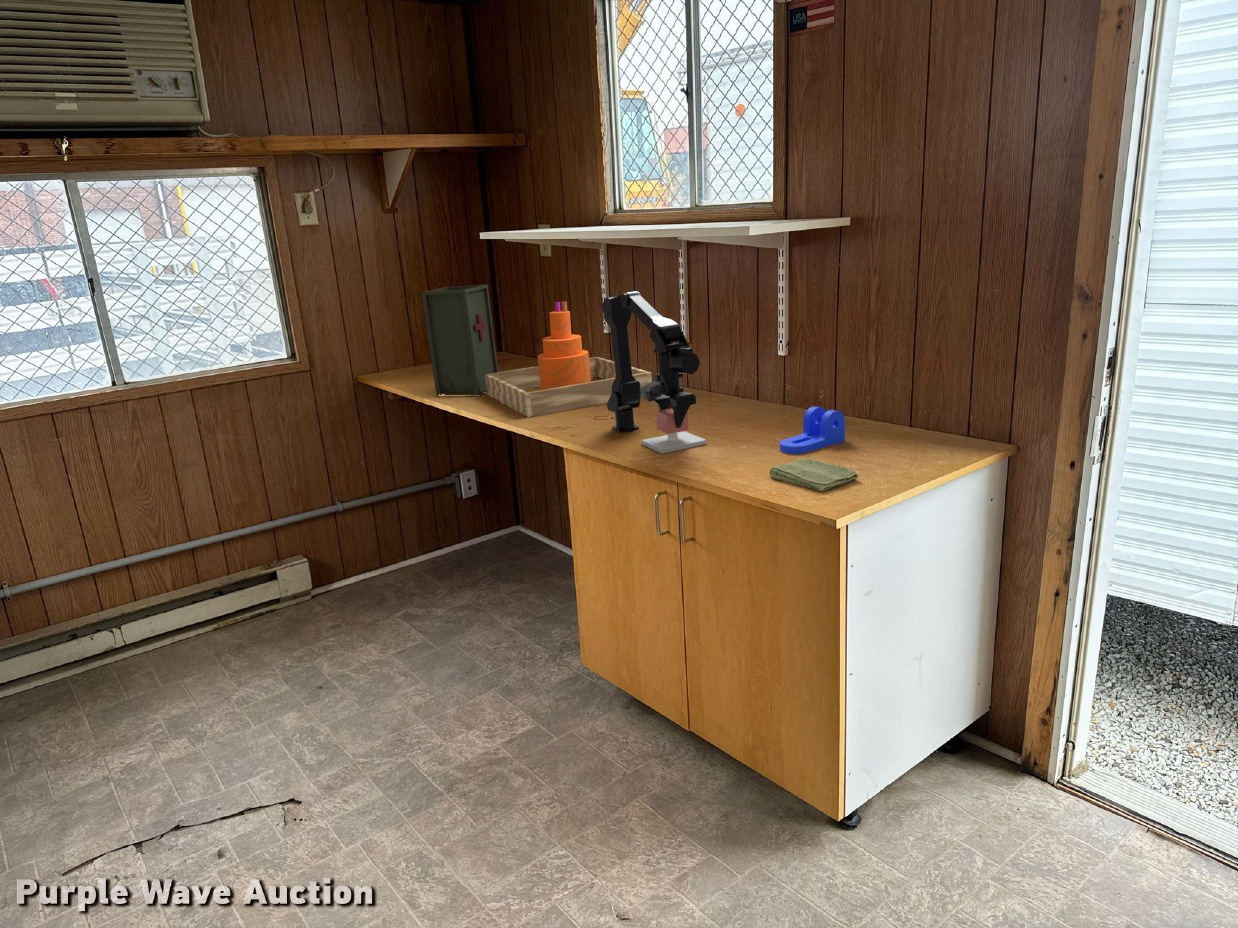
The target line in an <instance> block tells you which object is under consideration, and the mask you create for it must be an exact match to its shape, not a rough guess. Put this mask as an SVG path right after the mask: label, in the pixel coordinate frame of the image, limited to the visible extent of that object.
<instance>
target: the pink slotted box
mask: <svg viewBox="0 0 1238 928" xmlns="http://www.w3.org/2000/svg"><path fill="white" fill-rule="evenodd" d="M688 413H689V412H687V413H686V415H685V417H684V420H683V422H682V425H681V427H680V428H676V424H675V418H674V412H673V410H672V409H671V408H668V409H663V410H660V409H658V410H656V411H655V417H656V419H655V420H656V429H657V430H658V431H660V432H662V433H665V434H666V435H667V434H670V433H675V432H677V433H679V432H684V431H685V432H686V431H688V430H689V417H688V416H689V415H688Z"/></svg>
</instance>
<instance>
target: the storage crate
mask: <svg viewBox="0 0 1238 928" xmlns="http://www.w3.org/2000/svg"><path fill="white" fill-rule="evenodd" d="M589 365H590V376H591V379H593V378H592V377H596V376H598V377H599V378H598V379H599V380H594V381H591V382H587V383H581V384H576V385H570V386H564V387H558V388H552V389H546V390H541V389H540V390H535V391H530V392H527V391H526V390H530V389H535V388H534V387H538V388H541V384H540V375H539V366H537V365H536V366H530V367H524V368H518V369H517V368H516V369H512V370H511V369H510V370H506V371H498V373H491V374H485V381H486V389H487V393H486V395H487V396H488V395H489V396H488V397H490V396H492V397H493V398H495V399H497V400H498V401H497V400H496V401H497V402H499V401H500V402H499V403H501V402H502V403H501V404H503V405H504V404H506V405H507V406H506V405H505V406H506V407H508V406H509V407H508V408H510V407H511V408H510V409H512V410H514V411H515V410H516V411H515V412H517V413H520V414H521V413H522V415H523V416H525V417H526V416H527V417H526V418H531V416H533V417H538V416H543V415H549V414H548V413H550V414H553V413H561V412H565V411H572V410H577V409H582V408H587V407H592V406H597V405H604V404H607V402H608V400H609V398H610V396H611V395H612V384H613V382H614V380H615V377H616V373H615V364H614V360H610V359H606V358H602V357H599V356H594V357H589ZM631 367H632V375H633V377H634V378H635V379H636V381H639V382H640V388H642V387H643V386H645V385H647V384H648V383H650V382H653V378H652V376H653V375H652V372H651V371H647V370H644V369H640V368H637V367H633V366H631ZM600 378H602V379H600ZM603 379H604V380H603ZM525 389H526V390H525ZM492 397H491V398H492ZM493 398H492V399H493ZM641 398H643V397H642V394H641ZM495 399H494V400H495Z"/></svg>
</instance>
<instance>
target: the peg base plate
mask: <svg viewBox="0 0 1238 928" xmlns="http://www.w3.org/2000/svg"><path fill="white" fill-rule="evenodd" d="M641 445H642V446H644V447H647V448H649V449H651V450H653V451H655V452H657V453H660V454H661V455H663V454H667V453H671V452H676V451H681V450H685V449H691V448H695V447H699V446H704V445H707V439H705V438H703V437H700V436H698V435H695V434H692V433H690V432H688V431H686V430H685V431H680V432H675V433H670V434H667V433H666V435H665V434H664V435H662V436H656V437H651V438H650V437H649V438H644V439H641Z"/></svg>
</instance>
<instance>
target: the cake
mask: <svg viewBox="0 0 1238 928" xmlns="http://www.w3.org/2000/svg"><path fill="white" fill-rule="evenodd" d="M567 303H568V302H567V301H561V302H560V301H555V302H554V309H555V311H551V312H549V313H548V314H549V326H550V336H547V337H544V338H542V348H543V353H540V354H538V355H537V362H538V363H537V364H538V366H539V375H540V384H541V387H540V390H546V389H552V388H558V387H564V386H570V385H576V384H581V383H587V382H592V378H591V376H590V365H589V358H590V356H589V351H588V350H586V349H583V346H582V345H583V344H582V336H581V335H580V334H573V333H572V324H571V322H572V321H571V311H569V310H568V304H567Z"/></svg>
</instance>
